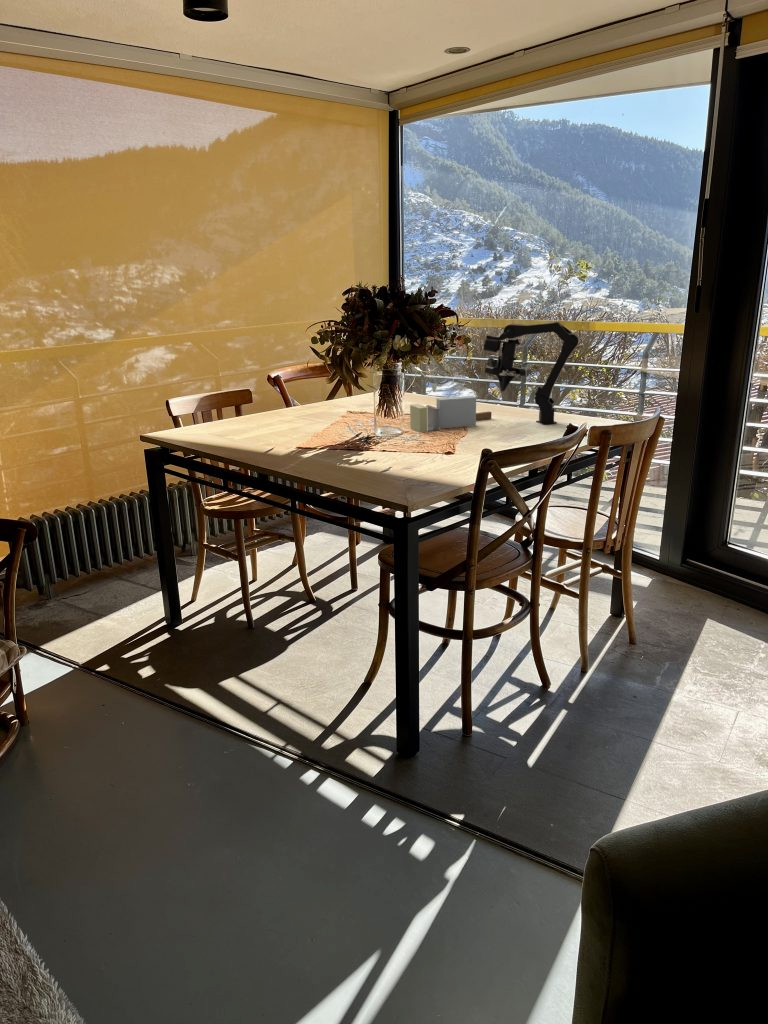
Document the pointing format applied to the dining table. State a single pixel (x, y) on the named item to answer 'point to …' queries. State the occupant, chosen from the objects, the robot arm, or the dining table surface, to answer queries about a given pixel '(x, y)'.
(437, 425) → the bookend
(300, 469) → the dining table surface
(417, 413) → the shelved book
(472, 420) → the boxed book
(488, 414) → the rail
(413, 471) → the dining table surface
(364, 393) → the dining table surface
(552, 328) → the robot arm
